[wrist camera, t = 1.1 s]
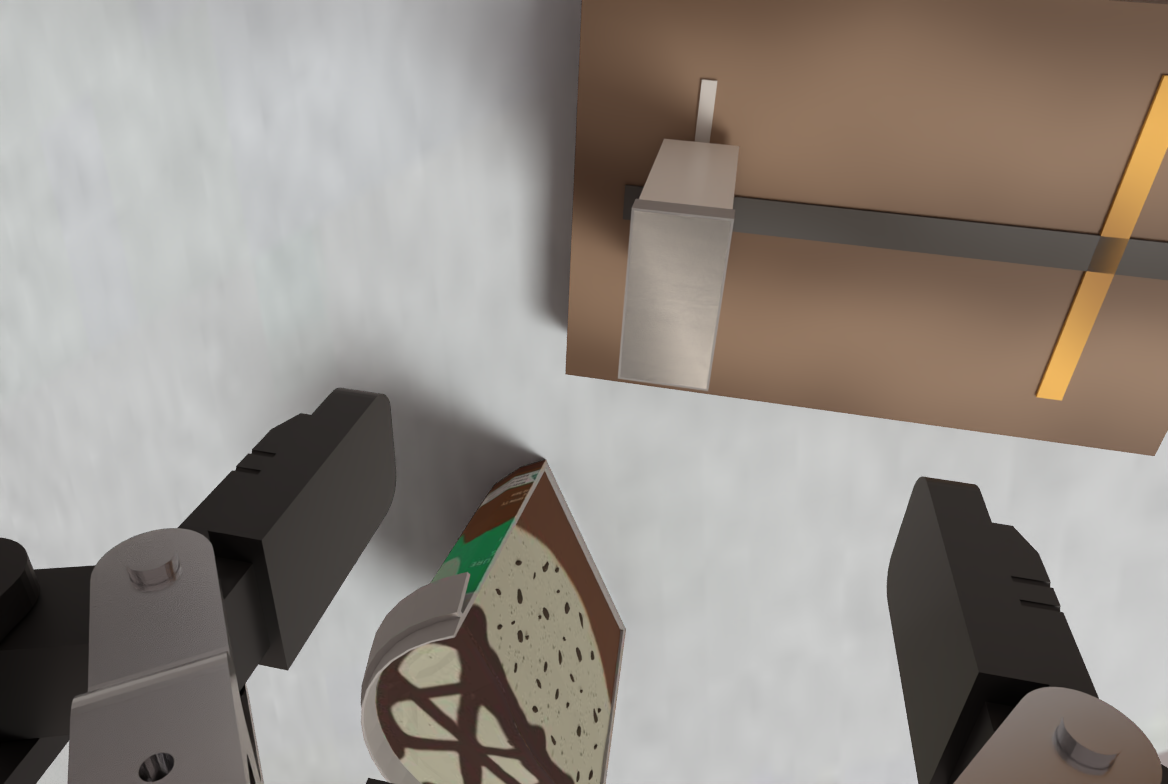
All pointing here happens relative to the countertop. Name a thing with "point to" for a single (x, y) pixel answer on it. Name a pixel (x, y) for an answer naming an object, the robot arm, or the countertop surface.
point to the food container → (500, 654)
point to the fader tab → (678, 265)
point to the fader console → (901, 203)
